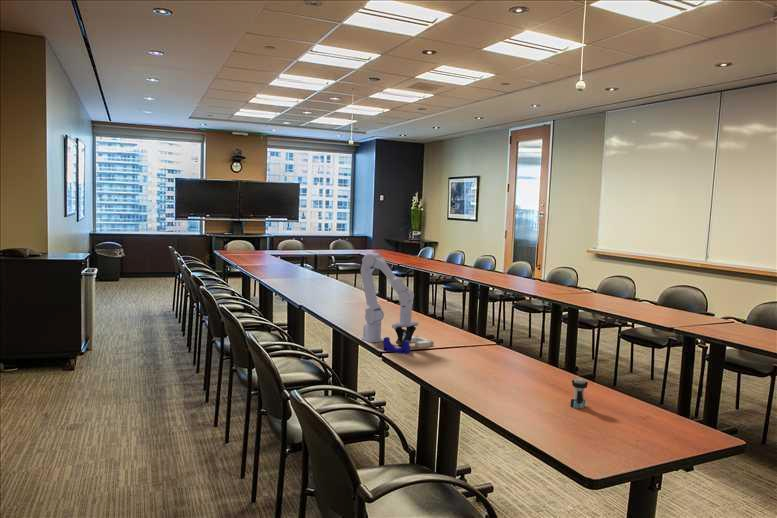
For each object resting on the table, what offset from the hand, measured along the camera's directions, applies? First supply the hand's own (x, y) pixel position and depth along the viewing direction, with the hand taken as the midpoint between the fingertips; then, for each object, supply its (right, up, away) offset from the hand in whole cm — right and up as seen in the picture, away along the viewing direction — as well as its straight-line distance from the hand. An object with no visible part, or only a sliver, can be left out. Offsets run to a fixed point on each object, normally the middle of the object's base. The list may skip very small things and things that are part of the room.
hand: (404, 341), depth 271 cm
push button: (+59, -12, -77) cm, 98 cm away
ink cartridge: (-3, -2, -2) cm, 3 cm away
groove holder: (+7, -2, +5) cm, 8 cm away
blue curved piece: (-4, -3, -11) cm, 12 cm away
